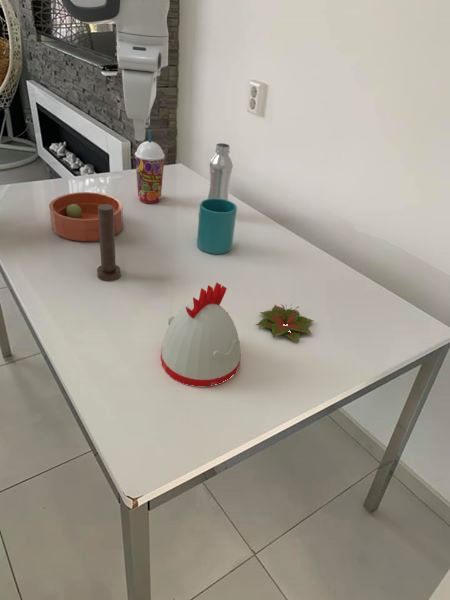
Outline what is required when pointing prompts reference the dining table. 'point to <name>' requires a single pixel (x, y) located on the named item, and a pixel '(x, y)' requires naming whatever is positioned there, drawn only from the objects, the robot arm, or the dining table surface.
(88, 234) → the bowl
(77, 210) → the green ball
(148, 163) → the smoothie
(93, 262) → the dining table surface
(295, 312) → the green leafy plant
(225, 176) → the silver bottle
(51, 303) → the dining table surface
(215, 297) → the kitchen timer
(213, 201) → the cup
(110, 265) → the masher
